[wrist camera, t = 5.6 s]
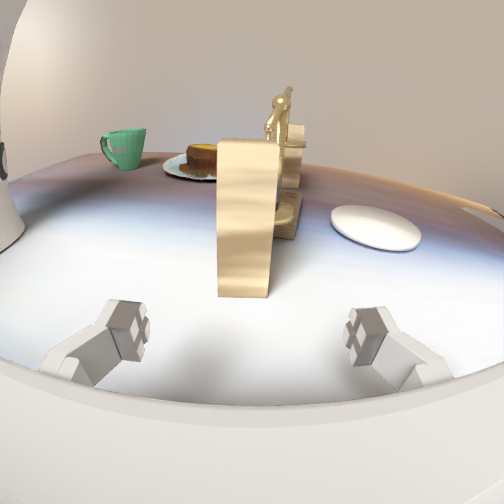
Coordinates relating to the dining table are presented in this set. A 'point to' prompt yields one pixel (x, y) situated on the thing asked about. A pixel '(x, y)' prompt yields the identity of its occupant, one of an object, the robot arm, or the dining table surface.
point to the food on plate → (194, 162)
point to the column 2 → (292, 158)
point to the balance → (285, 201)
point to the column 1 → (245, 215)
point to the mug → (124, 147)
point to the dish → (375, 227)
